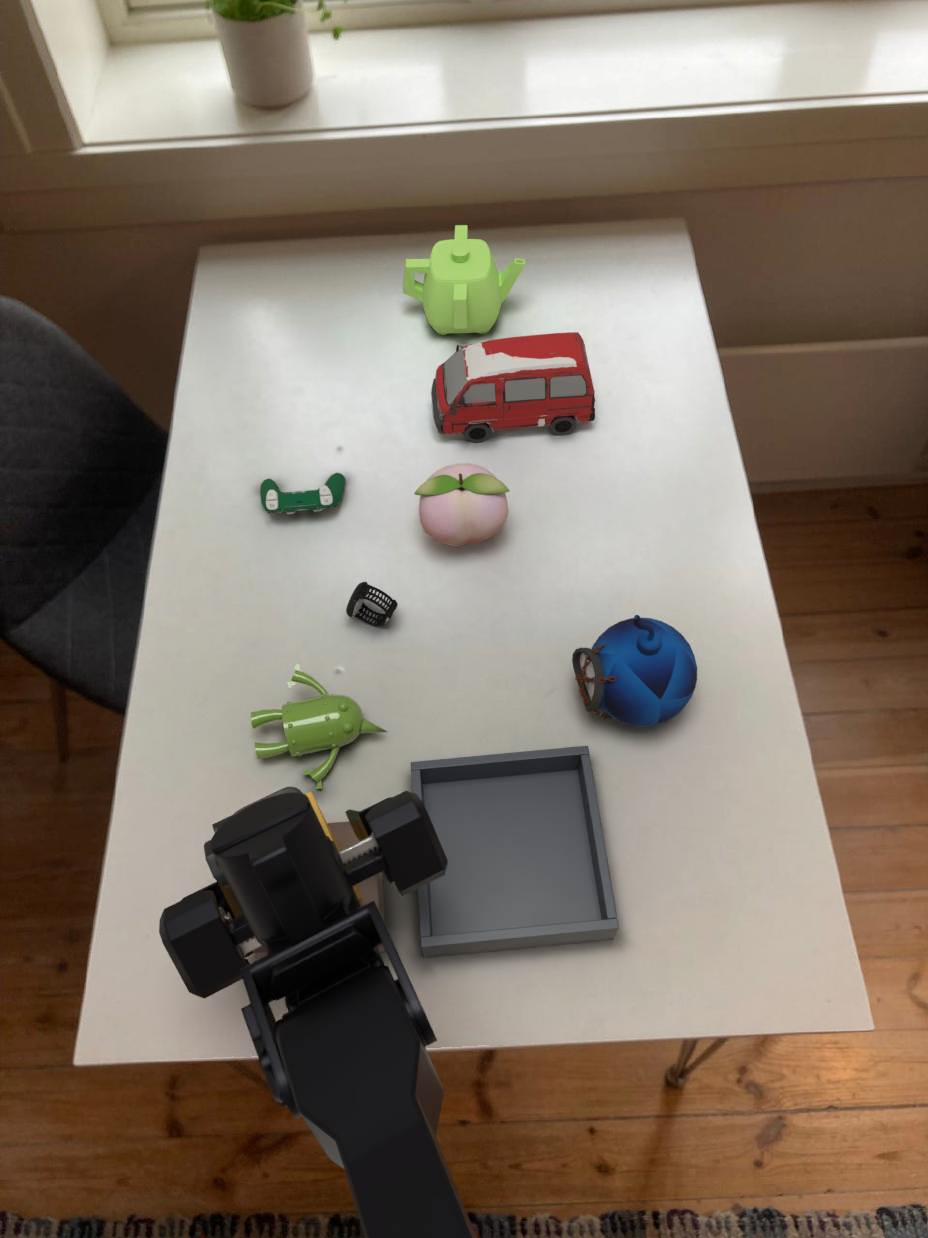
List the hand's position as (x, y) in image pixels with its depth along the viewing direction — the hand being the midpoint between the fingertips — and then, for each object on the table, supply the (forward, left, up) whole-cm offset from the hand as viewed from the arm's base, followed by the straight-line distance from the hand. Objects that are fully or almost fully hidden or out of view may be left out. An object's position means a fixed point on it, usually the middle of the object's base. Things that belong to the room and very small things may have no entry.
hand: (294, 842), depth 69 cm
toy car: (+52, -23, -11) cm, 57 cm away
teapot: (+70, -19, -11) cm, 73 cm away
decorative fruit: (+36, -16, -11) cm, 40 cm away
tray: (+1, -17, -11) cm, 20 cm away
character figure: (+14, -1, -11) cm, 17 cm away
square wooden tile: (-1, -1, -11) cm, 11 cm away
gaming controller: (+42, +1, -11) cm, 43 cm away
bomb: (+15, -30, -11) cm, 35 cm away
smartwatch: (+26, -6, -11) cm, 28 cm away
